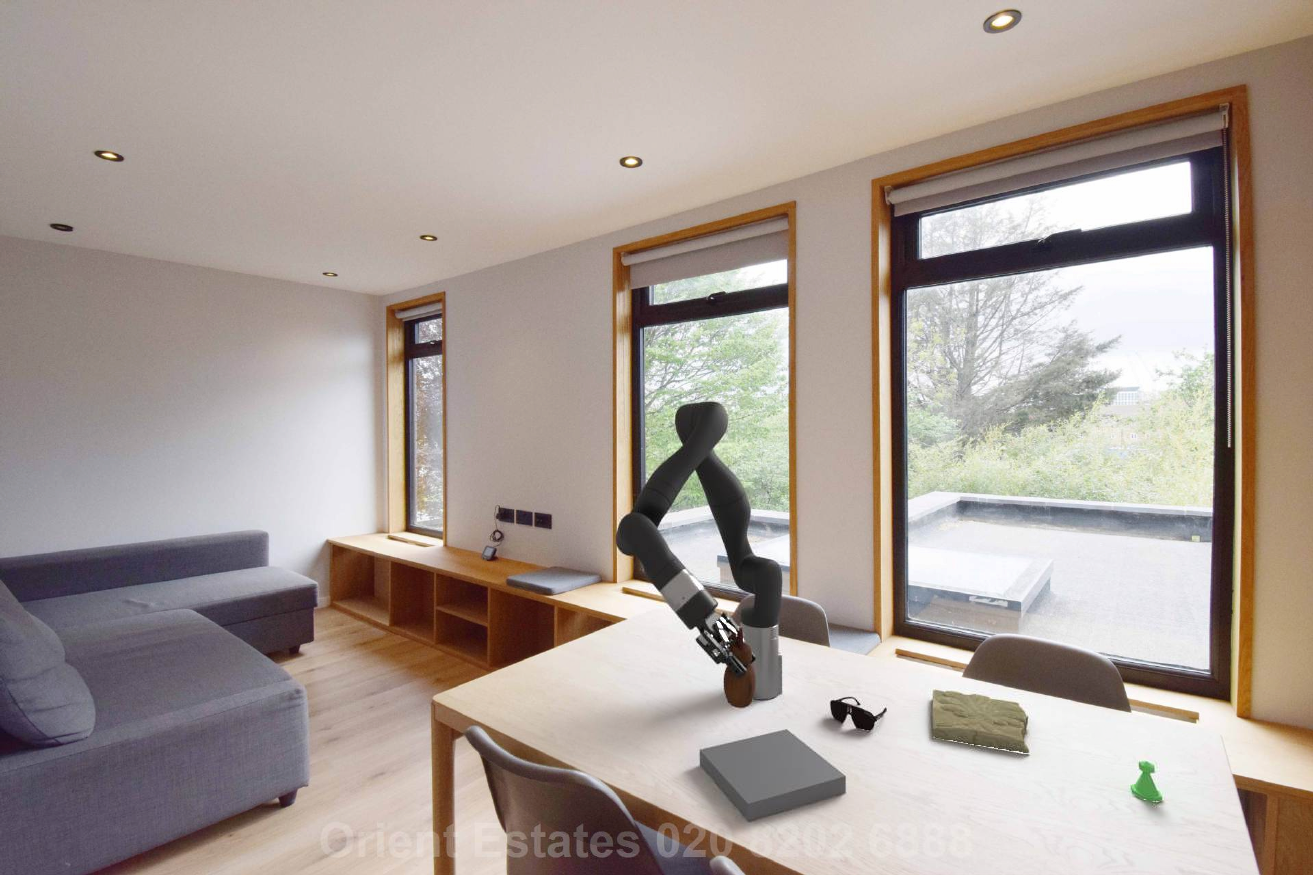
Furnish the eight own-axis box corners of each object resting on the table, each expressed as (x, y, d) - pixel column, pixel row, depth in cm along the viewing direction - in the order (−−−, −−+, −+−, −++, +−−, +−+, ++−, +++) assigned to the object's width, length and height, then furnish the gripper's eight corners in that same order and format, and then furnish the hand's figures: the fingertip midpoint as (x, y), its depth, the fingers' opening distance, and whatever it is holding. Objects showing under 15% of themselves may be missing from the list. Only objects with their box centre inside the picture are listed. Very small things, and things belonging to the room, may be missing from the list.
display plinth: (786, 743, 122) (786, 728, 121) (845, 792, 105) (845, 775, 105) (699, 764, 114) (699, 749, 114) (748, 821, 97) (748, 803, 97)
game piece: (1124, 786, 106) (1124, 753, 106) (1150, 788, 105) (1150, 754, 105) (1142, 801, 102) (1142, 767, 102) (1168, 803, 101) (1169, 768, 101)
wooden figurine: (752, 714, 106) (752, 631, 106) (720, 709, 108) (720, 628, 108) (757, 697, 113) (757, 619, 113) (727, 693, 115) (727, 616, 114)
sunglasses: (825, 719, 132) (826, 696, 132) (849, 708, 140) (850, 686, 141) (871, 736, 124) (872, 711, 125) (894, 723, 133) (895, 700, 133)
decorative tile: (932, 740, 123) (932, 723, 123) (932, 700, 142) (932, 685, 141) (1037, 760, 115) (1037, 742, 115) (1023, 715, 134) (1023, 700, 134)
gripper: (688, 595, 107) (753, 671, 102) (712, 577, 120) (770, 643, 115) (661, 621, 109) (723, 696, 104) (688, 600, 122) (744, 666, 117)
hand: (748, 668), depth 110 cm, fingers closed on wooden figurine, 6 cm apart
